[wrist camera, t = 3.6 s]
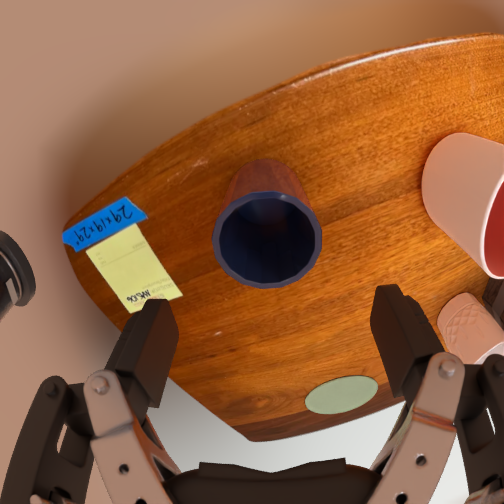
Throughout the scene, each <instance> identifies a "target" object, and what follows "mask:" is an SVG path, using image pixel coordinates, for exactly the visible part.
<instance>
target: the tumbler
mask: <svg viewBox="0 0 504 504" xmlns="http://www.w3.org/2000/svg"><path fill="white" fill-rule="evenodd" d="M212 244H213V249H214V255H215V258H216V259H217V261H218V262H219V264H220V265H221V267H222V268H223V270H224V271H225V273H227V274H228V275H229V276H231V277H232V278H234V279H235V280H237V281H238V282H240V283H241V284H244V285H248V286H252V287H256V288H259V289H267V288H280V287H284V286H286V285H288V284H291V283H293V282H296V281H298V280H300V279H301V278H302V277H303V276H304V275H305V274H306V273H307V272H308V271H310V270H311V269H312V268H313V267H314V265H315V263H316V260H317V258H318V256H319V254H320V252H321V249H322V229H321V227H320V225H319V222H318V220H317V218H316V216H315V214H314V211H313V209H312V207H311V205H310V203H309V201H308V198H307V196H306V194H305V192H304V190H303V188H302V186H301V184H300V182H299V180H298V178H297V176H296V174H295V173H294V172H293V171H292V170H291V169H290V168H289V167H288V166H287V165H285V164H283V163H282V162H279V161H277V160H272V159H258V160H254V161H251V162H249V163H247V164H245V165H244V166H243V167H241V168H240V169H239V170H238V171H237V172H236V174H235V175H234V177H233V178H232V180H231V182H230V185H229V188H228V190H227V193H226V195H225V198H224V201H223V203H222V206H221V209H220V211H219V214H218V217H217V219H216V223H215V227H214V231H213V234H212Z"/></svg>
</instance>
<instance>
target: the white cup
mask: <svg viewBox="0 0 504 504" xmlns="http://www.w3.org/2000/svg"><path fill="white" fill-rule="evenodd" d="M437 326H438V328H439V330H440V332H441V334H442V336H443V338H444V342H445V344H446V346H447V349H448V351H449V353H452V354H454V355H456V356H457V357H459V358H460V359H461V361H462V362H463V364H483V362H484V361H485V359H486V358H487V357H488V356H489V355H491V354H500V355H502V356H504V331H503V329H502V328H501V327H500V325H499V324H498V323H497V321H496V320H495V319H494V318H493V317H492V315H491V314H490V313H489V312H488V311H487V310H486V308H484V307H483V306H482V305H481V304H480V303H479V301H478V300H477V299H476V298H475V297H474V296H473V294H470V293H467V292H466V293H462V294H459V295H457V296H455V297H454V298H453V299H451V300H450V301H449V302H448V303H447V304H446V305H445V306H444V307H443V308H442V310H441V312H440V314H439V316H438V320H437Z"/></svg>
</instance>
